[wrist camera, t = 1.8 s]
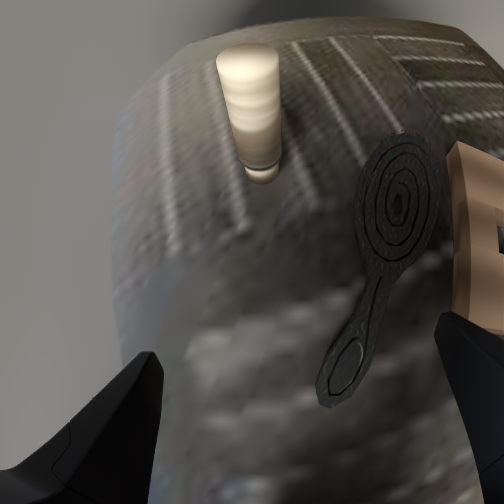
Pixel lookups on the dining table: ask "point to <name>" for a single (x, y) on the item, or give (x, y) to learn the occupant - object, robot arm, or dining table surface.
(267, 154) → the cream ridged cylinder
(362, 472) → the dining table surface
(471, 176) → the brown box
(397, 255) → the hairbrush
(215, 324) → the dining table surface
